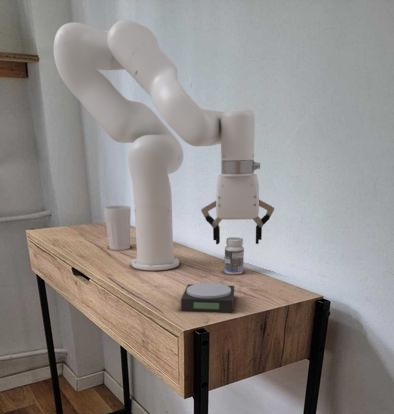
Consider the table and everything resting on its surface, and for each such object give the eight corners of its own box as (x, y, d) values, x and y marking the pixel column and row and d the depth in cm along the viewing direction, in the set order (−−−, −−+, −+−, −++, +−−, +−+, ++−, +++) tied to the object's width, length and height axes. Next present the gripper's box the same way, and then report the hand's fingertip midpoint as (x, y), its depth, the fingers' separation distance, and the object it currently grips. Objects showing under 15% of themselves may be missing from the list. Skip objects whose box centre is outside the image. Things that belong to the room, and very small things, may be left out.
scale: (187, 295, 105) (187, 281, 103) (234, 296, 104) (234, 282, 102) (181, 311, 95) (180, 296, 94) (231, 312, 94) (232, 297, 93)
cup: (101, 247, 148) (98, 207, 143) (122, 243, 153) (120, 204, 148) (117, 251, 143) (114, 210, 138) (138, 247, 148) (136, 207, 143)
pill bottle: (221, 270, 123) (222, 237, 120) (239, 269, 124) (240, 236, 121) (227, 275, 119) (228, 241, 116) (245, 273, 120) (247, 240, 117)
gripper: (274, 166, 114) (272, 239, 121) (202, 168, 116) (203, 240, 123) (276, 168, 107) (273, 246, 114) (198, 170, 109) (200, 246, 116)
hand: (237, 243), depth 119 cm, fingers open, 9 cm apart
